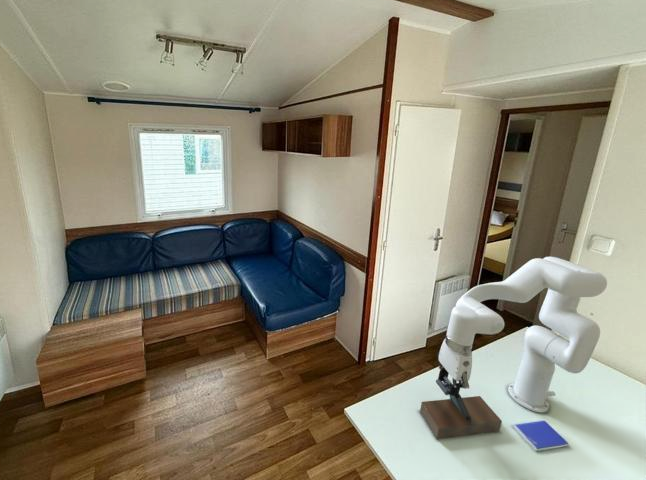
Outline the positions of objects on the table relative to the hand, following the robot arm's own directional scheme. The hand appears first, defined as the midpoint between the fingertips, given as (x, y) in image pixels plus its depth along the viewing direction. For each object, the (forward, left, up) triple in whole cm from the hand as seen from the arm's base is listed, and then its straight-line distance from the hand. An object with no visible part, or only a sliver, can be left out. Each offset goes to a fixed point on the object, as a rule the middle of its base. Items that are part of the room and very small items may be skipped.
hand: (447, 386), depth 100 cm
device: (-4, 0, -4) cm, 5 cm away
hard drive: (-32, +8, -17) cm, 37 cm away
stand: (-7, 0, -17) cm, 18 cm away
